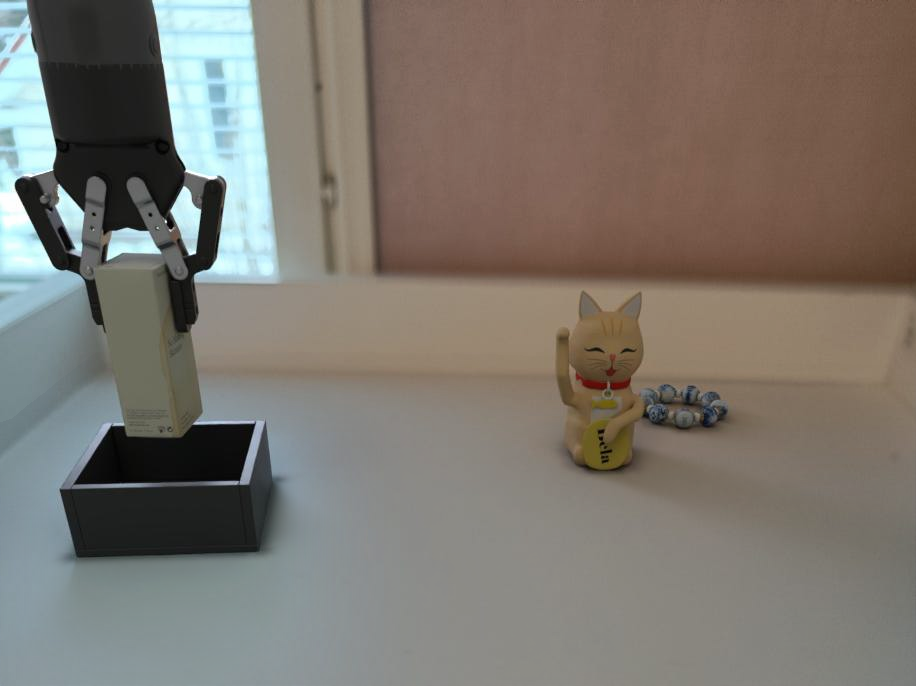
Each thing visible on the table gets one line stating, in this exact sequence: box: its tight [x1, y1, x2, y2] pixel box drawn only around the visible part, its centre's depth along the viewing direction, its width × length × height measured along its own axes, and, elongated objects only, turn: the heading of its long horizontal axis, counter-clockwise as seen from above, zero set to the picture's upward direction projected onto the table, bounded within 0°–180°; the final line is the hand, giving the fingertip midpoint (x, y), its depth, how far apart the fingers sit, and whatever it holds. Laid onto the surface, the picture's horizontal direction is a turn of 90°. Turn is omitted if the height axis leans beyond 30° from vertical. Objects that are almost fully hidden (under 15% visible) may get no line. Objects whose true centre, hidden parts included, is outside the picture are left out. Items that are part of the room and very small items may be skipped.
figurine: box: [554, 290, 645, 471], centre depth 84 cm, size 9×10×15 cm
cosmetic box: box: [93, 252, 204, 438], centre depth 68 cm, size 6×4×12 cm
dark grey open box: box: [59, 420, 273, 558], centre depth 74 cm, size 14×14×6 cm
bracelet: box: [638, 383, 729, 429], centre depth 98 cm, size 10×10×2 cm
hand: (148, 329), depth 67 cm, fingers closed on cosmetic box, 4 cm apart
